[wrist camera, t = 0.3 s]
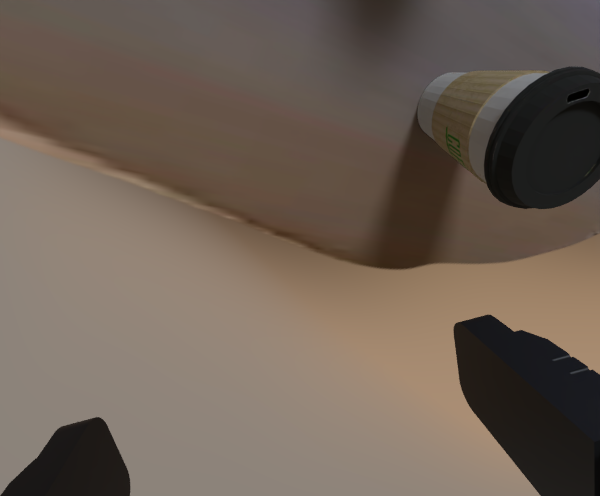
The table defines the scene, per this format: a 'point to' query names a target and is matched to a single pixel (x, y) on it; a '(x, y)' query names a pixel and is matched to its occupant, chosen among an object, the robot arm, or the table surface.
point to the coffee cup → (520, 131)
